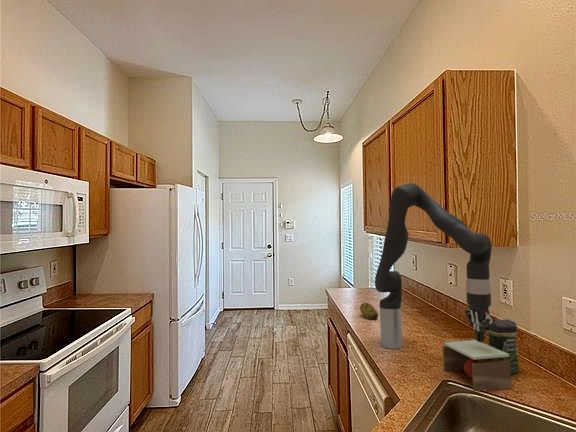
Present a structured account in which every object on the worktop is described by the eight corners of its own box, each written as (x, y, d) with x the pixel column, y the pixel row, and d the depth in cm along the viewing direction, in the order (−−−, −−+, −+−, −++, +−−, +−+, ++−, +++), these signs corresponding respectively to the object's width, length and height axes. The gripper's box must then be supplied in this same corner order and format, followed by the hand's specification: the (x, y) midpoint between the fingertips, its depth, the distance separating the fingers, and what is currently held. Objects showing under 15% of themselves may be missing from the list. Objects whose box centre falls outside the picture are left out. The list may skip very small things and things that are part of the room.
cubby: (443, 370, 134) (442, 345, 134) (475, 367, 136) (474, 343, 136) (475, 392, 116) (473, 364, 116) (511, 388, 118) (510, 361, 118)
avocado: (365, 321, 203) (364, 306, 203) (358, 315, 215) (358, 301, 216) (379, 320, 203) (379, 306, 203) (372, 314, 216) (372, 301, 216)
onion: (477, 375, 129) (476, 352, 129) (486, 382, 123) (485, 358, 123) (461, 376, 129) (460, 353, 129) (470, 383, 123) (469, 359, 123)
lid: (443, 344, 134) (442, 341, 134) (474, 342, 136) (474, 339, 136) (473, 359, 117) (473, 356, 117) (509, 356, 118) (508, 353, 119)
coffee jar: (498, 376, 128) (496, 323, 128) (483, 367, 135) (482, 317, 136) (523, 374, 129) (521, 322, 129) (508, 365, 136) (506, 316, 137)
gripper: (502, 294, 119) (503, 347, 119) (475, 287, 132) (477, 334, 132) (481, 295, 118) (482, 349, 118) (456, 288, 131) (458, 336, 131)
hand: (479, 341), depth 125 cm, fingers closed
